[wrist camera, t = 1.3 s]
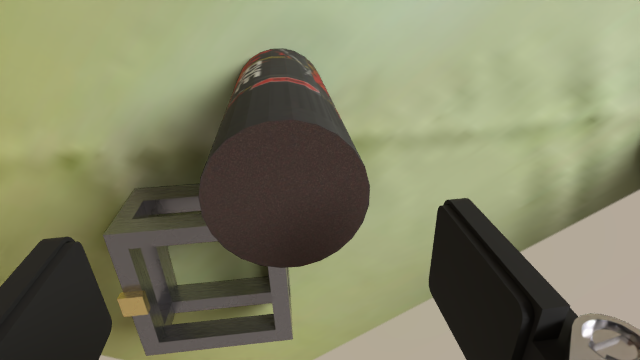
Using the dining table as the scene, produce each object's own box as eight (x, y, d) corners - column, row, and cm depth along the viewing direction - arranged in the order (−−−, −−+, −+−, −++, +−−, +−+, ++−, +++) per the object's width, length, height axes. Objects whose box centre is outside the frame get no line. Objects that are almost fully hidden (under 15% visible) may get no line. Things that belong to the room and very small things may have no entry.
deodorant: (291, 147, 29) (306, 289, 15) (220, 103, 26) (166, 223, 13) (339, 82, 27) (404, 179, 13) (267, 29, 25) (259, 81, 11)
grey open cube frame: (280, 177, 30) (281, 224, 24) (289, 284, 35) (293, 345, 29) (131, 189, 29) (95, 241, 23) (164, 297, 34) (140, 363, 28)
